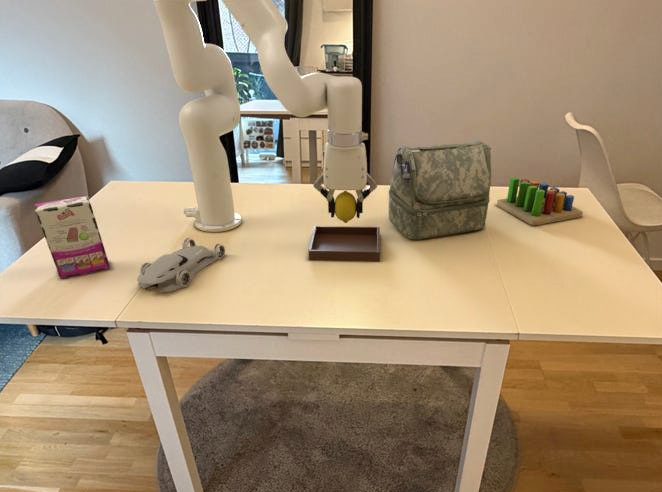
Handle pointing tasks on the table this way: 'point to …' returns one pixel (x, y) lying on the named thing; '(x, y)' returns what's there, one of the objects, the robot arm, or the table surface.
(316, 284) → the table surface
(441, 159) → the lunch bag
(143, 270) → the car model
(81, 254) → the candy bar box
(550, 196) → the peg board
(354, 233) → the walnut tray
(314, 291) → the table surface
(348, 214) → the lemon
